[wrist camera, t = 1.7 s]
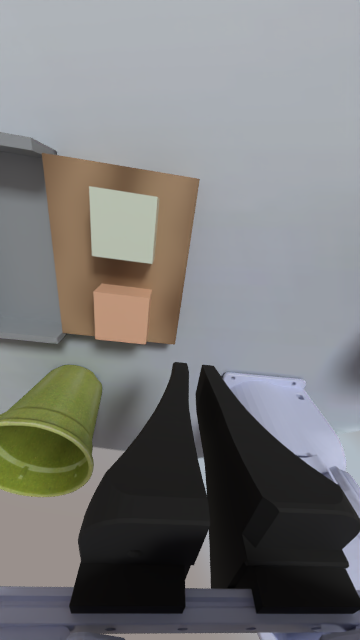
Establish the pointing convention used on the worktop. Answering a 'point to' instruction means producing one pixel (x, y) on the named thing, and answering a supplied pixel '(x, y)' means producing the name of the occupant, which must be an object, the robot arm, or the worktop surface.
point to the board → (90, 271)
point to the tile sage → (123, 225)
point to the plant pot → (50, 435)
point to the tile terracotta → (122, 313)
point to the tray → (26, 245)
